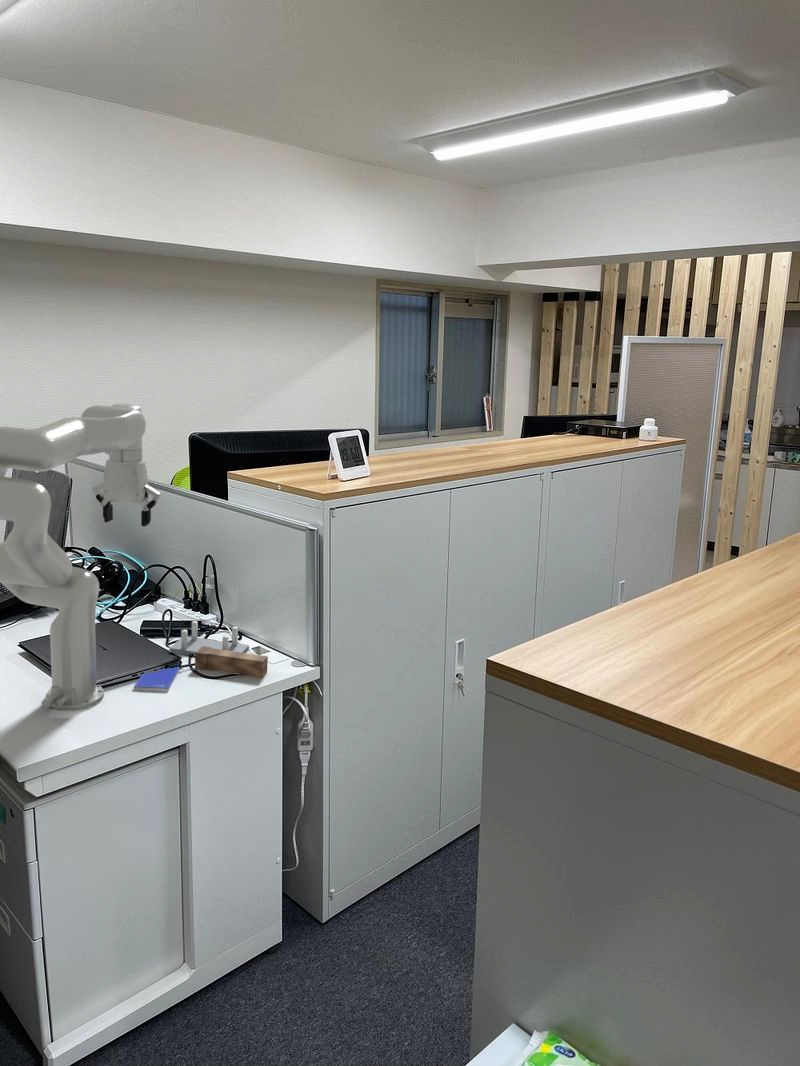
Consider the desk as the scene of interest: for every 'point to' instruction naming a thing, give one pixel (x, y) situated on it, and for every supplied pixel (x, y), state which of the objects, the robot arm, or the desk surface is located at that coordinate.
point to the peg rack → (206, 642)
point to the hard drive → (157, 680)
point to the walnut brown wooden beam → (231, 662)
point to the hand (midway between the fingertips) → (127, 523)
